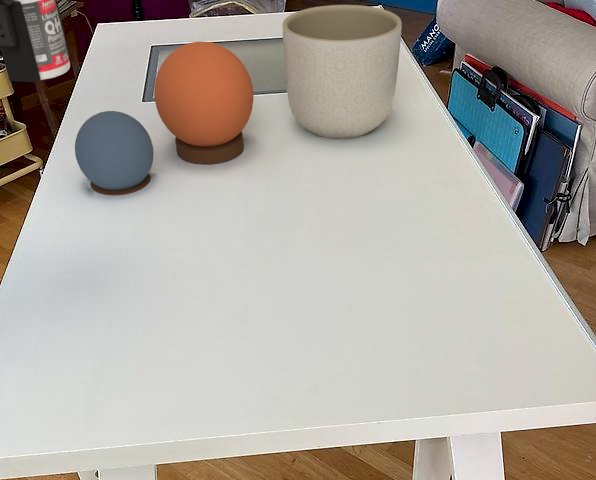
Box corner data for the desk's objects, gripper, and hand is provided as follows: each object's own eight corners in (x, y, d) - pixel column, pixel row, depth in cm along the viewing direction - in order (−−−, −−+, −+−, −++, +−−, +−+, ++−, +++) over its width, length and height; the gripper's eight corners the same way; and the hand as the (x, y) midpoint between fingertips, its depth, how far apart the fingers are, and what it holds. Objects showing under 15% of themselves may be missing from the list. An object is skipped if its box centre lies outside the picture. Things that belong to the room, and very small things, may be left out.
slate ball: (74, 208, 96) (52, 128, 88) (103, 174, 103) (85, 97, 96) (145, 214, 94) (129, 132, 87) (169, 179, 101) (157, 100, 94)
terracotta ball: (150, 167, 104) (131, 59, 94) (180, 127, 114) (166, 26, 104) (244, 173, 102) (235, 63, 92) (266, 132, 112) (260, 29, 102)
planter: (414, 137, 109) (423, 30, 99) (309, 157, 105) (307, 47, 95) (367, 98, 121) (371, -2, 111) (271, 114, 117) (266, 13, 107)
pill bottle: (71, 78, 67) (42, -42, 60) (11, 85, 66) (-25, -36, 59) (72, 59, 71) (45, -56, 64) (15, 65, 70) (-18, -51, 63)
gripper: (-73, -261, 45) (30, 108, 61) (59, -267, 58) (116, 38, 74) (-176, -257, 46) (-50, 103, 62) (-24, -264, 60) (49, 35, 75)
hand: (40, 67), depth 68 cm, fingers closed on pill bottle, 5 cm apart
